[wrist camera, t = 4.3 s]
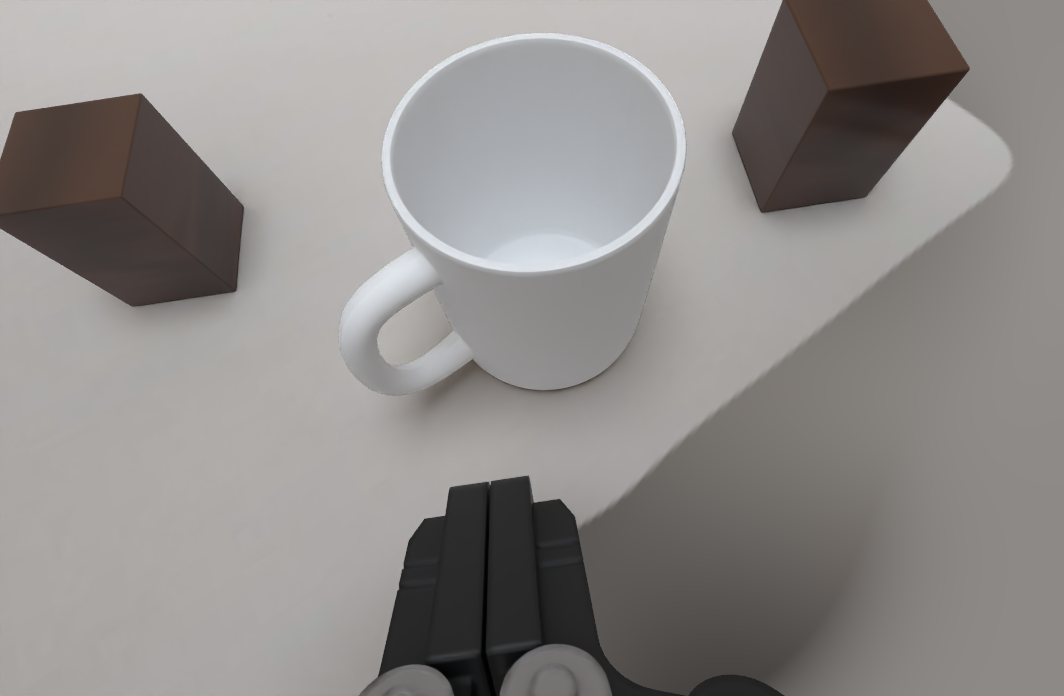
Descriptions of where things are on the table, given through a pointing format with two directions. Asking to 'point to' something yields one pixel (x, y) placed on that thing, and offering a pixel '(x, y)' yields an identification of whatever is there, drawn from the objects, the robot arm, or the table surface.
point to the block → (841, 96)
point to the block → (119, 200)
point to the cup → (523, 212)
